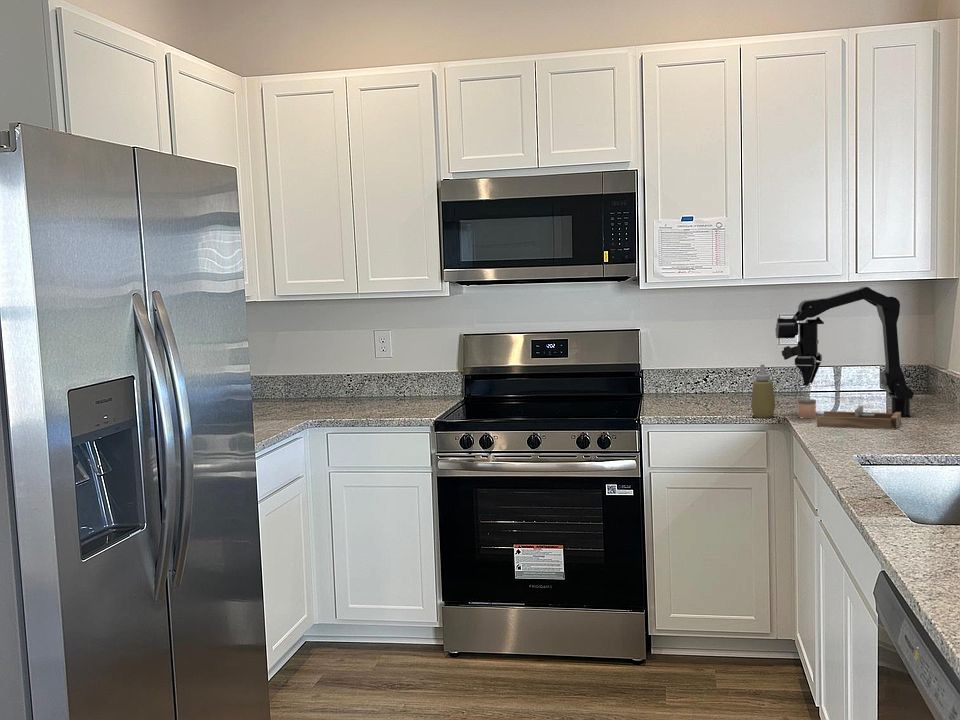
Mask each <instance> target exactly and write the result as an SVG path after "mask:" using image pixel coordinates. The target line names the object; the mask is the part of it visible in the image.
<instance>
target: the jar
mask: <svg viewBox="0 0 960 720" xmlns="http://www.w3.org/2000/svg"><path fill="white" fill-rule="evenodd" d="M797 409H798V410H797V411H798V413H797V416H798V417H803V418H814V417H815V418H817V399H813V398H812V399H811V398H808V399H807V398H804V399H803V398H802V399H800V398H799V399H798V400H797ZM815 418H814V419H815Z"/></svg>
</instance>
